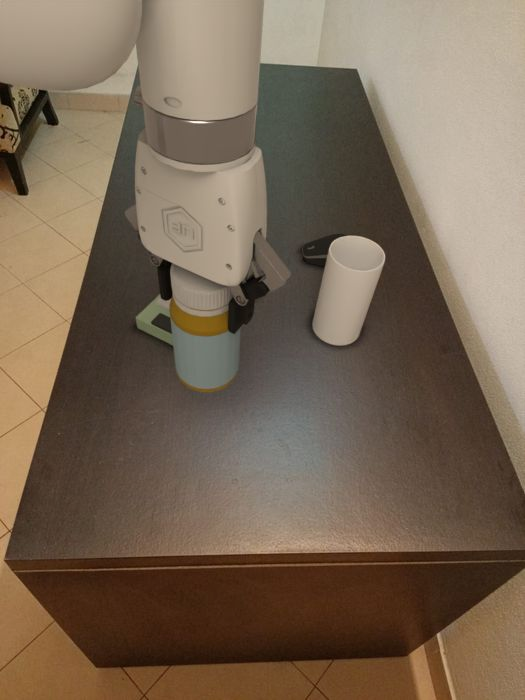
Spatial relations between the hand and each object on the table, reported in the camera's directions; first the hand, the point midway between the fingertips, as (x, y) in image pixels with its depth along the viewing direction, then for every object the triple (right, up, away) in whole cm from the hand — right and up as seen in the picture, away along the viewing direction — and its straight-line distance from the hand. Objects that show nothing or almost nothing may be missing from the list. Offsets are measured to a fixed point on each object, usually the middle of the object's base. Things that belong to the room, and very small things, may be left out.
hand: (205, 306), depth 46 cm
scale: (-6, +2, +34) cm, 35 cm away
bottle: (-1, -7, +8) cm, 10 cm away
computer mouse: (+19, +14, +47) cm, 52 cm away
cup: (+18, 0, +35) cm, 39 cm away
